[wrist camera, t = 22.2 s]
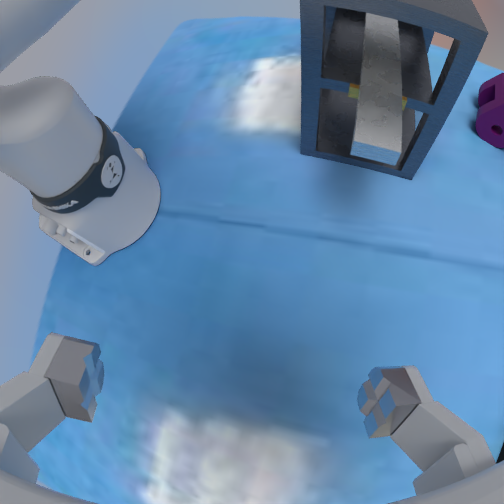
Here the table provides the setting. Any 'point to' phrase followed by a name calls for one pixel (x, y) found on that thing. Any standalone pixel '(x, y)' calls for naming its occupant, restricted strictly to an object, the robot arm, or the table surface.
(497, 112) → the mounting bracket
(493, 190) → the table surface
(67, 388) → the robot arm
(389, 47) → the strip
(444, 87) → the rack
